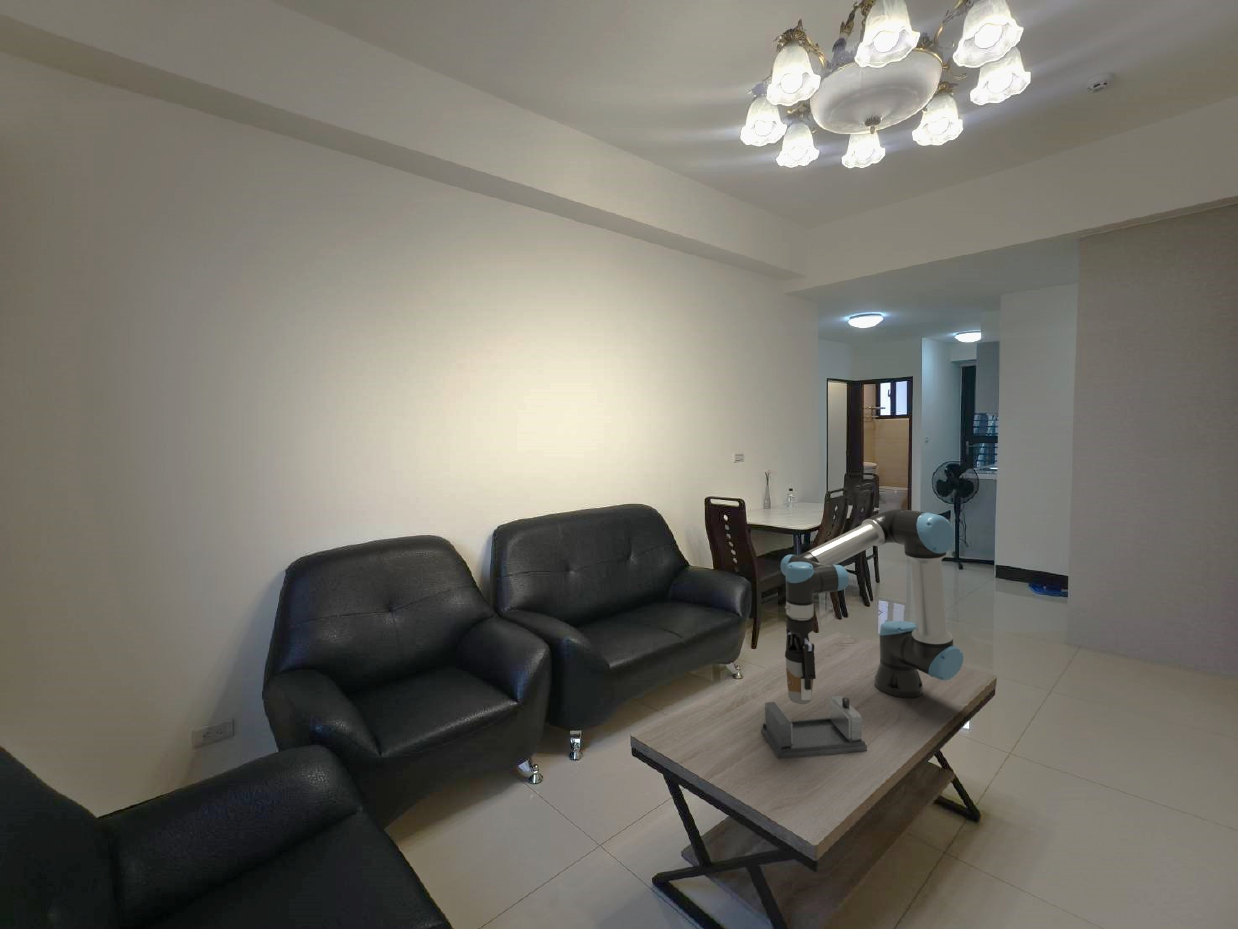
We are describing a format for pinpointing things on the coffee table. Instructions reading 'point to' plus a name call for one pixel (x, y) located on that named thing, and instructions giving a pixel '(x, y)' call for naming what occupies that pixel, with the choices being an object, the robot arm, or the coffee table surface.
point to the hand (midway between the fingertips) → (800, 692)
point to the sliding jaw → (846, 718)
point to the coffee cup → (795, 675)
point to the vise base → (804, 736)
